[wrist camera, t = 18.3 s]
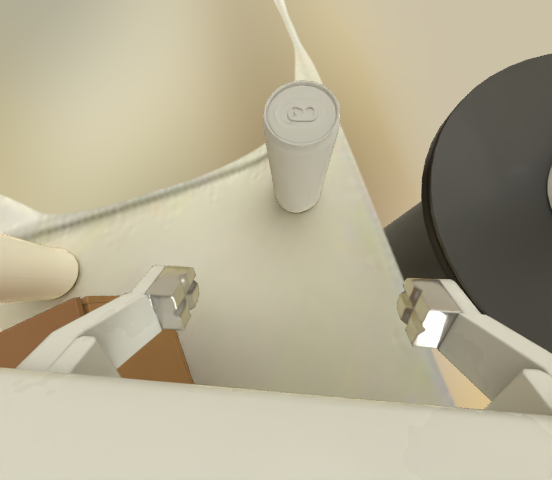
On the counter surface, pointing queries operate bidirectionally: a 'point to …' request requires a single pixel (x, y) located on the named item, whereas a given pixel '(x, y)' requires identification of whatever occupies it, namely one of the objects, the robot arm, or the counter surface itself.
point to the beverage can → (300, 141)
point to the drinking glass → (34, 271)
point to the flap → (35, 332)
